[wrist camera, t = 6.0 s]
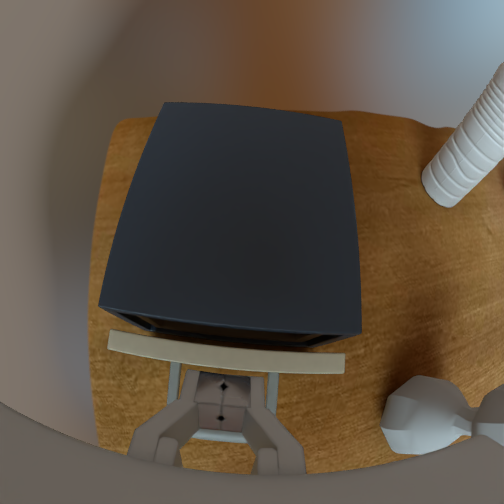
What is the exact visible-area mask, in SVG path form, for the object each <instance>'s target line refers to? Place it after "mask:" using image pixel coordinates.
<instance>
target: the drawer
mask: <svg viewBox="0 0 504 504" xmlns="http://www.w3.org/2000/svg"><path fill="white" fill-rule="evenodd" d="M136 316H137V315H136ZM138 317H140V318H141V319H143V320H145V321H146V322H148V323H150V324H151V325H153V326H155V327H158V328H164V329H171V330H178V331H185V332H192V333H200V334H208V335H217V336H226V337H236V338H247V339H259V340H273V341H288V342H304V341H307V340H310V339H313V338H315V337H318V336H321V335H320V334H299V333H282V332H268V331H256V330H244V329H234V328H224V327H215V326H206V325H198V324H190V323H183V322H176V321H169V320H162V319H155V318H149V317H143V316H138ZM108 349H109V350H114V351H118V352H123V353H128V354H132V355H137V356H143V357H148V358H153V359H159V360H165V361H171V366H170V376H169V386H168V397H167V405H169V404H170V403H171V402H173V401H174V400H175V399H178V396H179V385H180V375H181V365H182V363H184V364H191V365H199V366H207V367H215V368H224V369H235V370H246V371H260V372H268V383H267V395H266V407H265V409H269V410H270V411H271V412H272V413H273V414H274V415H275V417H276V407H277V395H278V382H279V373H306V374H341V373H344V372H345V353H314V352H289V351H271V350H257V349H245V348H234V347H224V346H215V345H207V344H199V343H191V342H184V341H177V340H170V339H164V338H157V337H151V336H146V335H140V334H134V333H129V332H124V331H119V330H114V329H110V334H109V341H108ZM191 438H198V439H205V440H214V441H224V442H236V443H247V441H246V440H245V438H244V437H243V435H242V433H239V432H229V431H221V430H210V429H200V428H199V430H198V431H197V432H196V433H195V434H194V435H193V436H192V437H191Z"/></svg>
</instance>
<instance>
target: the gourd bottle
mask: <svg viewBox="0 0 504 504" xmlns="http://www.w3.org/2000/svg"><path fill="white" fill-rule="evenodd" d="M380 427H381V429H382V431H383V433H384V435H385V437H386V439H387V442H388V444H389V446H390V448H391V449H392V450H393V451H394V452H396V453H401V454H426V453H429V452H433V451H436V450H439V449H442V448H445V447H447V446H448V445H449V444H451V443H452V442H454V441H455V440H456V439H457V438H459V437H460V436H461V435H469V436H471V438H472V437H474V436H477V435H486V436H488V437H490V438H491V439H493V440H494V441H496V442H498V443H499V444H501V445H502V446H503V447H504V384H502V385H501V386H499V387H497V388H496V389H494V390H492V391H491V392H489V393H488V394H487V395H485V396H484V398H483V400H482V402H481V405H480V407H476V408H471V407H470V406H469V405H468V403H467V401H466V399H465V397H464V396H463V394H462V392H461V391H460V390H459V388H458V387H457V386H456V385H454V384H453V383H452V382H450V381H447V380H442V379H437V378H432V377H427V376H422V375H418V376H414V377H412V378H411V379H409V380H408V381H407V382H406V383H405V384H403V385H402V386H401V387H400V388H398V389H397V390H396V391H394V392H393V393H392V394H391V395H389V396H388V398H387V402H386V405H385V409H384V412H383V415H382V418H381V421H380Z"/></svg>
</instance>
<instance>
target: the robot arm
mask: <svg viewBox="0 0 504 504" xmlns="http://www.w3.org/2000/svg"><path fill="white" fill-rule="evenodd" d="M199 428H200V429H210V430H221V431H229V432H239V433H242V435H243V437H244V438H245V440H246V441H247V443H248V444H249V446H250V447H251V449H252V450H253V452H254V453H255V455H256V458H255V461H254V465H253V468H252V471H251V474H250V475H247V474H231V473H220V472H210V471H202V470H195V469H188V468H183V465H182V460H181V455H180V449H181V448H182V447H183V446H184V445H185V444H186V443H187V442H188V440H189V439H190V438H191V437H192V436H193V435H194V434H195V433H196V432H197V431H198V430H199ZM0 504H504V447H503V446H502V445H501V444H499V443H498V442H496V441H494V440H493V439H491V438H490V437H488V436H486V435H477V436H474V437H472V438H469V439H467V440H464V441H462V442H459V443H456V444H454V445H451V446H448V447H445V448H442V449H439V450H436V451H433V452H429V453H426V454H423V455H419V456H416V457H412V458H408V459H404V460H400V461H396V462H391V463H387V464H382V465H377V466H371V467H366V468H360V469H353V470H346V471H338V472H328V473H317V474H306V466H305V458H304V451H303V447H302V446H301V444H300V443H299V442H298V441H297V440H296V439H295V438H294V437H293V436H292V435H291V434H290V432H289V431H288V430H287V429H286V428H285V427H284V426H283V425H282V423H281V422H280V421H279V420H278V419H277V418H276V417H275V415H274V414H273V413H272V412H271V411H270V410H269V409H265V395H264V378H263V377H253V376H240V375H228V374H217V373H210V372H203V371H195V370H189V369H188V370H187V372H186V375H185V379H184V383H183V387H182V391H181V395H180V399H179V400H178V399H175V400H174V401H173V402H171V403H170V404H169V405H167V406H166V407H165V408H164V409H162V410H161V411H160V412H158V413H157V414H156V415H154V416H153V417H152V418H150V419H149V420H147V421H146V422H145V423H143V424H142V425H141V426H139V427H138V428H136V429H135V431H134V434H133V438H132V441H131V444H130V447H129V450H128V453H127V455H123V454H120V453H116V452H113V451H110V450H107V449H103V448H100V447H97V446H94V445H92V444H89V443H86V442H83V441H81V440H78V439H75V438H73V437H70V436H68V435H65V434H63V433H61V432H58V431H56V430H54V429H51V428H49V427H47V426H44V425H43V424H41V423H38V422H36V421H34V420H32V419H30V418H28V417H27V416H25V415H23V414H21V413H19V412H17V411H15V410H13V409H12V408H10V407H8V406H6V405H5V404H3V403H1V402H0Z"/></svg>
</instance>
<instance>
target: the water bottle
mask: <svg viewBox="0 0 504 504" xmlns="http://www.w3.org/2000/svg"><path fill="white" fill-rule="evenodd" d="M503 158H504V62H503V63H502V64H501V65H500V66H499V67H498V69H497V71H496V72H495V74H494V76H493V79H491V81H490V84H488V85H487V86H486V89H484V91H483V93H482V94H481V95H480V97H479V99H477V101H476V103H475V104H474V105H473V108H471V109H470V111H469V112H468V113H467V114H466V116H465V117H464V119H463V122H461V123H460V124H459V125H458V127H457V128H456V130H455V132H454V133H453V134H452V135H451V136H450V137H449V139H448V140H447V142H446V143H445V144H444V145H443V146H442V148H441V149H440V151H439V152H438V153H437V154H436V155H435V156H434V158H433V160H431V161H430V162H429V164H428V165H427V166H426V167H425V169H424V170H423V172H422V177H421V178H422V183H423V186H425V190H426V192H427V193H428V195H429V196H430V197H431V198H433V199H434V201H435V202H436V203H438V204H439V205H441V206H445V207H453V206H454V205H456V204H457V203H458V202H459V201H460V200H461V199H462V198H463V197H464V196H465V195H466V194H467V193H469V192H470V191H471V189H472V188H473V187H475V186H476V185H477V184H478V183H479V182H480V181H481V180H482V179H483V178H484V177H485V176H486V175H487V174H488V173H489V171H491V170H492V169H493V168H494V167H495V166H496V165H497V164H498V162H499V161H501V160H502V159H503Z"/></svg>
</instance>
